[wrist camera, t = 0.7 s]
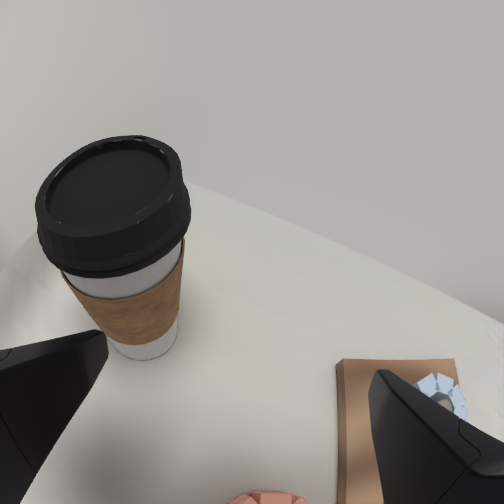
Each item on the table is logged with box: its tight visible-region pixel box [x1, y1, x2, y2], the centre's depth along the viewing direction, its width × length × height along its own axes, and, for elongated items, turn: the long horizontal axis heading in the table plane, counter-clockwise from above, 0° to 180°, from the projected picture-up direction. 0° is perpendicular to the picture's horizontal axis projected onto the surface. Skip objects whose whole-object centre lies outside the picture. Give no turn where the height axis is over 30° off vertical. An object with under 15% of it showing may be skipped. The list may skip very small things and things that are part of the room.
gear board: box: [336, 359, 463, 504], centre depth 15 cm, size 20×13×6 cm, turn 176°
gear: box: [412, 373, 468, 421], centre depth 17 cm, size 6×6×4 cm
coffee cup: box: [35, 135, 191, 360], centre depth 18 cm, size 8×8×15 cm
